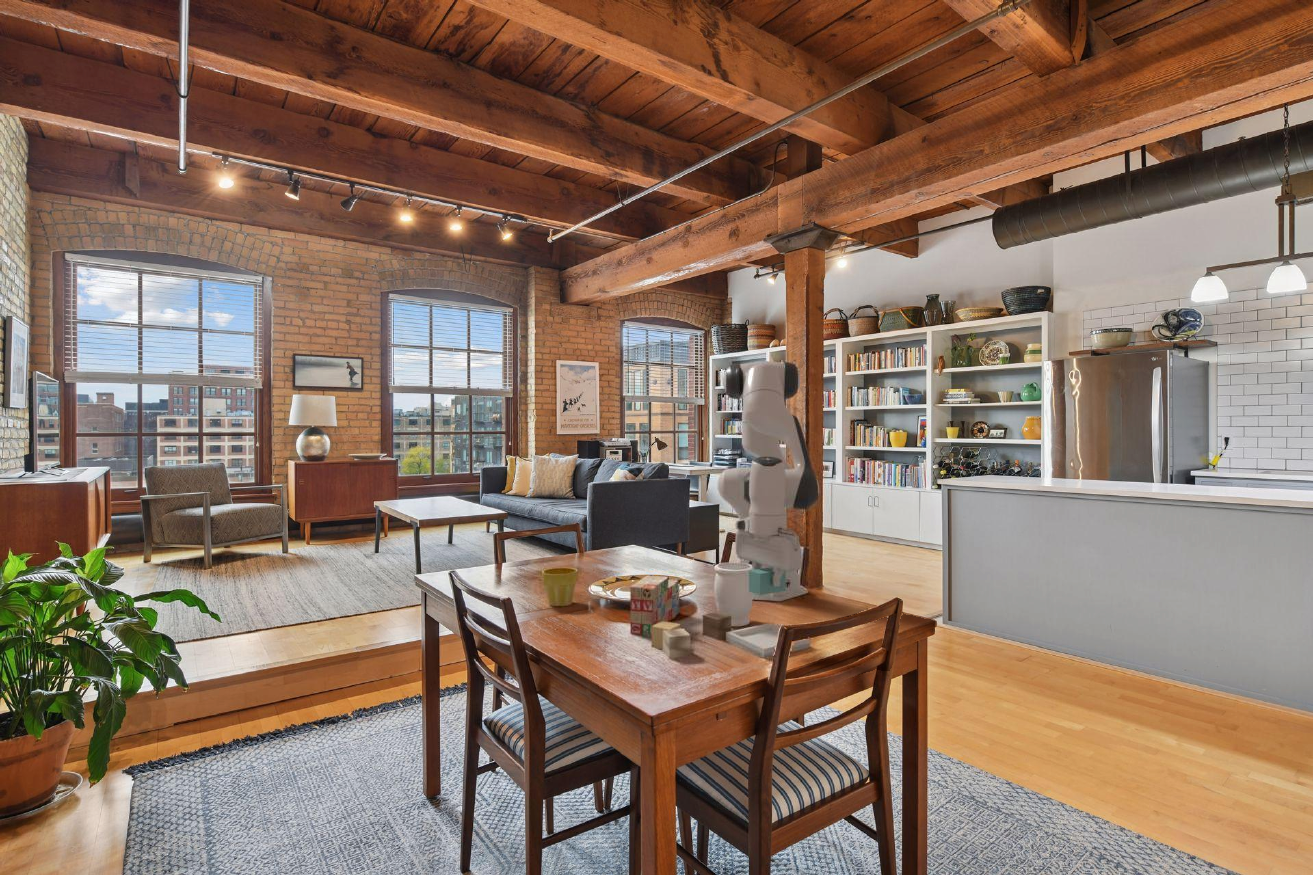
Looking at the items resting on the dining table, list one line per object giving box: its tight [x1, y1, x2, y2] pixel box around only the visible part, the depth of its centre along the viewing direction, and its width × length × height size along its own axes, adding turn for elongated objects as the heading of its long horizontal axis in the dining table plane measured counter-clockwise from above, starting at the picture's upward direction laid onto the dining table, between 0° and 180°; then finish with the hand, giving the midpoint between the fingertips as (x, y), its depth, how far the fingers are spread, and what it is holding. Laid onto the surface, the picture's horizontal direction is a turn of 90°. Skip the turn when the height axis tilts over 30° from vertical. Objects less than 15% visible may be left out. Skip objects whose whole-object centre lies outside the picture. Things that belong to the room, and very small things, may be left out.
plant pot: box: [541, 566, 579, 607], centre depth 197 cm, size 10×10×10 cm
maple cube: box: [662, 628, 691, 660], centre depth 155 cm, size 5×5×5 cm
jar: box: [713, 561, 754, 627], centre depth 178 cm, size 11×10×15 cm
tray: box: [725, 622, 811, 659], centre depth 161 cm, size 14×14×2 cm
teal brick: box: [749, 567, 786, 595], centre depth 160 cm, size 8×4×5 cm, turn 121°
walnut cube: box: [702, 610, 732, 640], centre depth 168 cm, size 5×5×5 cm
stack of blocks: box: [629, 575, 680, 637], centre depth 178 cm, size 21×6×12 cm, turn 161°
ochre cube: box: [651, 621, 682, 650], centre depth 160 cm, size 5×5×5 cm
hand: (767, 583), depth 160 cm, fingers closed on teal brick, 4 cm apart
